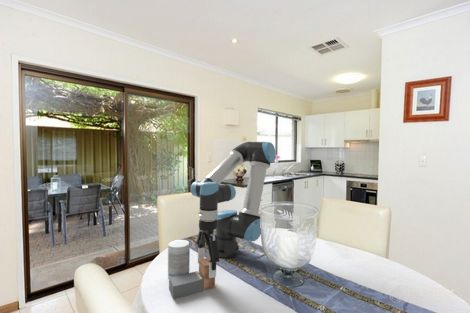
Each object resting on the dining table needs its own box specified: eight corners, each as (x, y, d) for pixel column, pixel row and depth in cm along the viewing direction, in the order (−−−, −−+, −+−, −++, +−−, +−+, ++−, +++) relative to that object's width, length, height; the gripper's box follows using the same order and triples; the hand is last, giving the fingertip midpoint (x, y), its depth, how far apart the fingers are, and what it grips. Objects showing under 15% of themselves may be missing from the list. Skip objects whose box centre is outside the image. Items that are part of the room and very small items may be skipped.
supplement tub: (192, 277, 106) (193, 244, 105) (171, 283, 100) (172, 249, 100) (184, 268, 114) (185, 237, 113) (164, 273, 108) (165, 241, 108)
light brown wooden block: (209, 280, 104) (210, 257, 103) (214, 287, 98) (215, 263, 98) (198, 282, 101) (199, 259, 101) (203, 290, 96) (204, 266, 96)
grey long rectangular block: (197, 282, 102) (197, 270, 101) (202, 291, 95) (203, 278, 95) (169, 289, 96) (169, 276, 96) (172, 299, 90) (173, 285, 90)
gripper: (190, 212, 108) (189, 258, 109) (210, 229, 86) (208, 286, 87) (206, 211, 112) (204, 255, 112) (229, 226, 90) (227, 282, 90)
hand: (206, 269), depth 99 cm, fingers open, 13 cm apart
